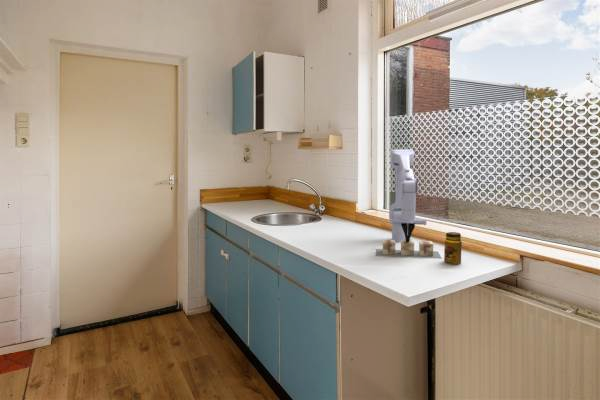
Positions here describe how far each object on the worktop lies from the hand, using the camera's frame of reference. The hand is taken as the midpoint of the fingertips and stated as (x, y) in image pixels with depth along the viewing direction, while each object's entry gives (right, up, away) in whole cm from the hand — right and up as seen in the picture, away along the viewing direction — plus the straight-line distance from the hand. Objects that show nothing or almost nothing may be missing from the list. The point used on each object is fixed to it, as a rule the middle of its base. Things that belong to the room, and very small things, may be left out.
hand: (407, 241), depth 161 cm
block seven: (+7, -5, -1) cm, 9 cm away
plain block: (0, -5, +1) cm, 5 cm away
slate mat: (0, -6, +1) cm, 6 cm away
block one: (-7, -5, +2) cm, 9 cm away
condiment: (+14, -7, -12) cm, 20 cm away
